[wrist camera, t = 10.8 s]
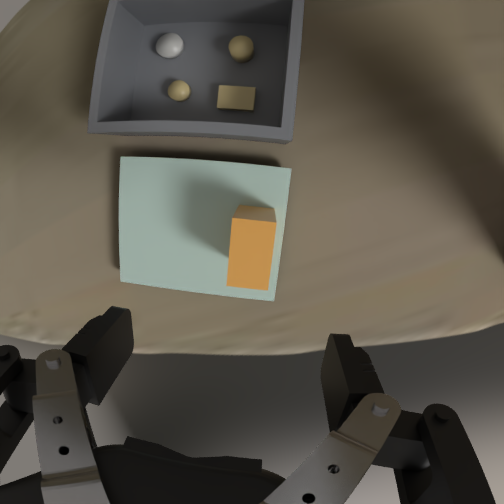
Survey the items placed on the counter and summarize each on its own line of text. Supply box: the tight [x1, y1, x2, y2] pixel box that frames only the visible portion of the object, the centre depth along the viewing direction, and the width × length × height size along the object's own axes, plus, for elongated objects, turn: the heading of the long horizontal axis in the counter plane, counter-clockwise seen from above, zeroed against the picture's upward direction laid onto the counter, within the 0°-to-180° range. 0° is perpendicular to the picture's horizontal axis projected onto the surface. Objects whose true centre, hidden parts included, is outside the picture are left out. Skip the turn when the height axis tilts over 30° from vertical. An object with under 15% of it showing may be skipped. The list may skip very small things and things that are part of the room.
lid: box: [119, 156, 291, 301], centre depth 26 cm, size 15×12×8 cm
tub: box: [87, 0, 304, 144], centre depth 21 cm, size 15×12×7 cm
